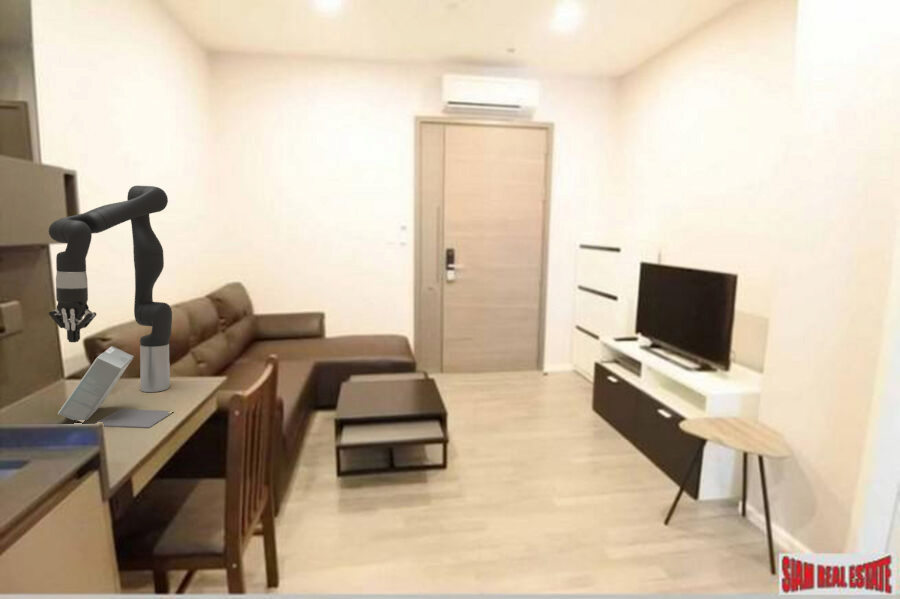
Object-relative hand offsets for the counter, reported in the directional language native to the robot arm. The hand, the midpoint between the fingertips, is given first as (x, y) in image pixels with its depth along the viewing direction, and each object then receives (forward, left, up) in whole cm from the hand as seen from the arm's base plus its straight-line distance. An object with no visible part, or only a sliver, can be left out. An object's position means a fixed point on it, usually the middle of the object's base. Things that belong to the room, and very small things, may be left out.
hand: (73, 341), depth 145 cm
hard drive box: (0, +1, -22) cm, 22 cm away
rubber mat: (0, +18, -24) cm, 30 cm away
